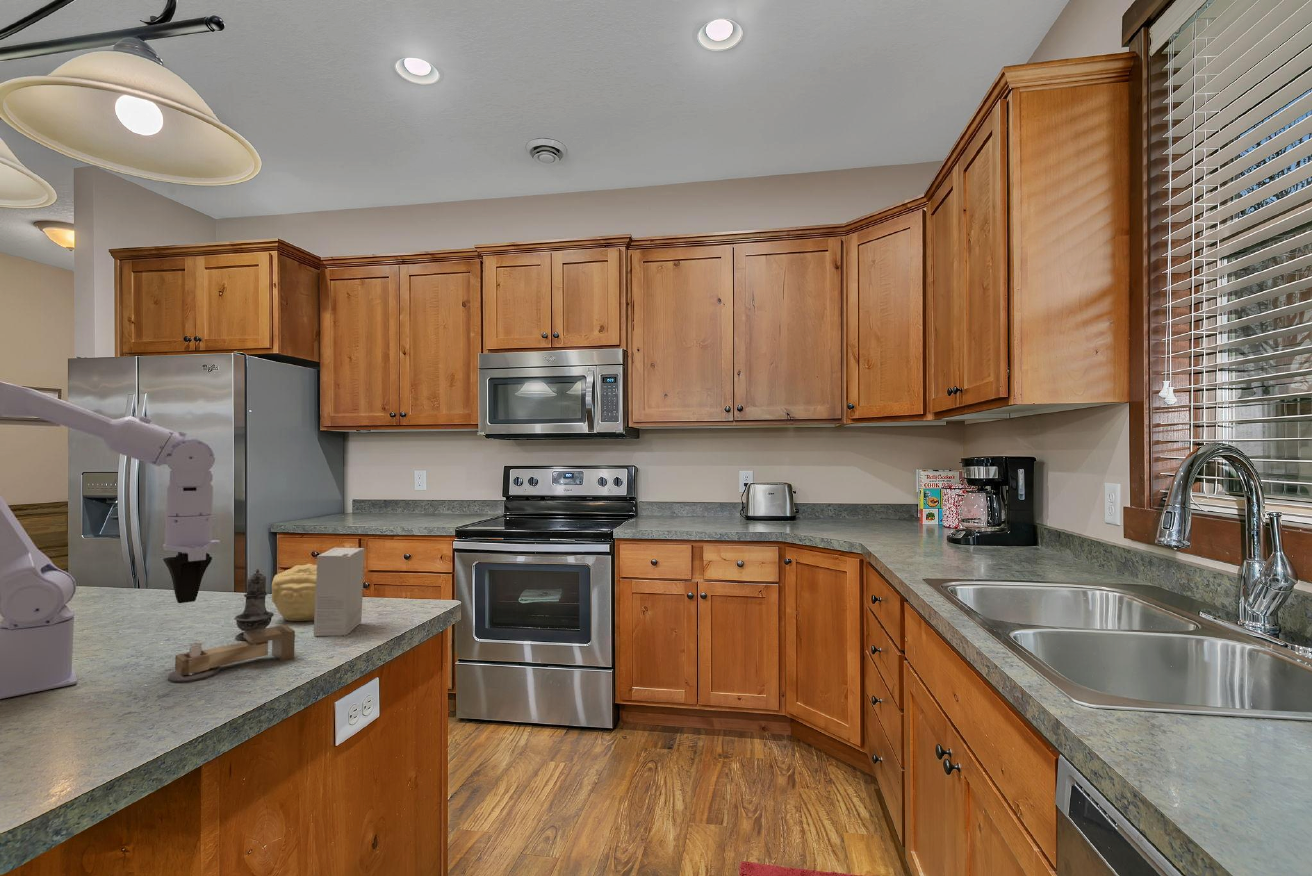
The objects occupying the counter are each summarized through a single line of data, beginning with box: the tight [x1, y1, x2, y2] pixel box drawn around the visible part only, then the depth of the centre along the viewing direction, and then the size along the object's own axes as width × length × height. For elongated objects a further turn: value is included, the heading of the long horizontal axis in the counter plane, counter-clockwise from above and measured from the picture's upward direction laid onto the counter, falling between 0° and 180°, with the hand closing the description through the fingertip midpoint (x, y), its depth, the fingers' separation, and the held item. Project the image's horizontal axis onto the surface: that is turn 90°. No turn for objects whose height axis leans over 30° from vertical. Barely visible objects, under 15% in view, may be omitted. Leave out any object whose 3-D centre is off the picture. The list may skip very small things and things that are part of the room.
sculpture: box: [271, 563, 317, 622], centre depth 118 cm, size 11×12×11 cm
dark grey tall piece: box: [234, 568, 275, 641], centre depth 106 cm, size 6×6×12 cm
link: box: [174, 640, 269, 675], centre depth 89 cm, size 11×4×2 cm, turn 142°
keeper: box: [243, 624, 296, 662], centre depth 94 cm, size 6×5×4 cm
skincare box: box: [313, 547, 365, 637], centre depth 110 cm, size 8×6×15 cm
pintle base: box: [167, 642, 221, 684], centre depth 87 cm, size 6×6×4 cm
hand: (186, 601), depth 92 cm, fingers closed
